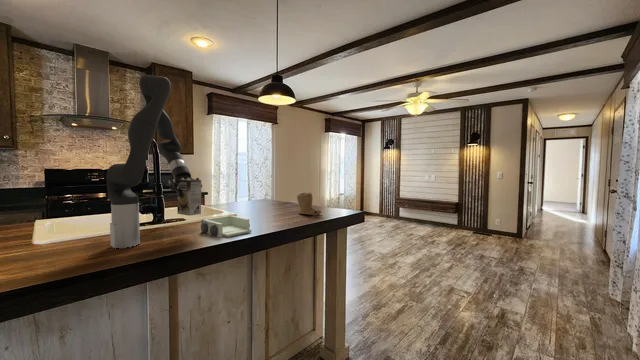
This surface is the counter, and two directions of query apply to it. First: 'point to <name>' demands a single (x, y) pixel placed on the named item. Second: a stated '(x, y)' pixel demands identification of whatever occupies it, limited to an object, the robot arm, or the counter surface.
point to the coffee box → (189, 197)
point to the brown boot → (306, 204)
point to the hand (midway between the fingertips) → (190, 195)
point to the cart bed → (225, 226)
